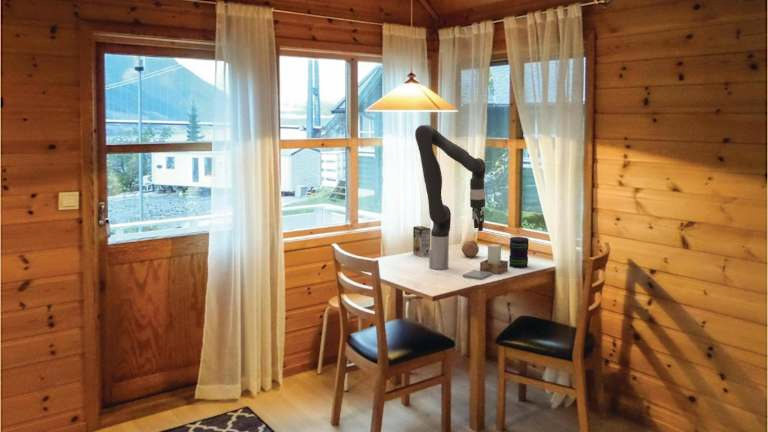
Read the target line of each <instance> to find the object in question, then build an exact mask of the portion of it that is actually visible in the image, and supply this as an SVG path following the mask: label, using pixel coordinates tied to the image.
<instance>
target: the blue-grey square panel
mask: <svg viewBox="0 0 768 432" xmlns="http://www.w3.org/2000/svg"><path fill="white" fill-rule="evenodd" d="M492 275H493V274H492V272H485V271H480V270H476V269H473V270H470V271H468V272H466V273H464V274H462V277H463V278H466V279H472V280H479V281H480V280H485V279H486V278H488V277H491V276H492Z"/></svg>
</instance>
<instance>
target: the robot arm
mask: <svg viewBox="0 0 768 432" xmlns="http://www.w3.org/2000/svg"><path fill="white" fill-rule="evenodd" d="M414 135H415V140H416V145H417V147H418V151H419V156H420V162H421V167H422V173H423V180H424V185H425V191H426V194H427V201H428V214H429V218H430V220H431V221H432V222H433V225H432V226H433V227H432V229H431V230H430V250H429V256H428V257H429V259H428V261H429V262H428V263H429V264H428V266H429V267H428V268H431V269H434V270H447V269H448V268H449V252H450V250H449V249H450V248H449V247H450V246H449V245H450V241H449V240H450V230H451V222H452V221H451V219H452V216H451V215H452V212H451V210H450V208H449V206H448V205H445V204H444V203H443V199H442V197H443V196H442V188H443V175H442V170H441V166H440V163H439V161H438V159H437V157H436V155H435V152H434V149H433V146H435V147H437V148H439V149H440V150H441V151H442V152H444V154H446V155H447V156H448V157H450V158H451V159H452V160H454V161H455V162H456V163H458V164H460V165H461V166H462V167H464V168H465V169H466V170H467V171H469V172H470V173H471V178H470V181H469V190H470V191H469V204H470V205H469V207H470V208H471V212H472V213H471V214H472V217H471V218H472V220H473V228H474V229H477V230H478V231H479V232H482V231H483V230H484V229H483V228H484V226H483V224H484V223H485V215H484V214H485V212H484V210H483V208H485V207H486V192H485V176H486V175H485V174H486V163H485V160H484V159H483V158H481V157H480V158H479V157H474V156H472V155H471V154H470V153H469V151H467V150H466V149H464V148H463V147H460V146H459V145H457V144H456V143H454V142H452V141H451V140H449V139H448V138H447V137H445V136H444V135H443V134H441V132H439V131H438V130H437V129H436V128H434V127H433V125H431V124H424V125H423V124H421V125H418V127H417V128H416V129H415V131H414Z"/></svg>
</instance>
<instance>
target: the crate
mask: <svg viewBox="0 0 768 432" xmlns="http://www.w3.org/2000/svg"><path fill="white" fill-rule="evenodd" d="M508 261H509V260H502V259H501V264H492V263H488V258H487V259H486V260H482V261H481V262H479V271H485V272H492V275H493V274H494V275H501V274H504V273H505V272H507V271H509V270H508V267H509V262H508Z"/></svg>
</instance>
